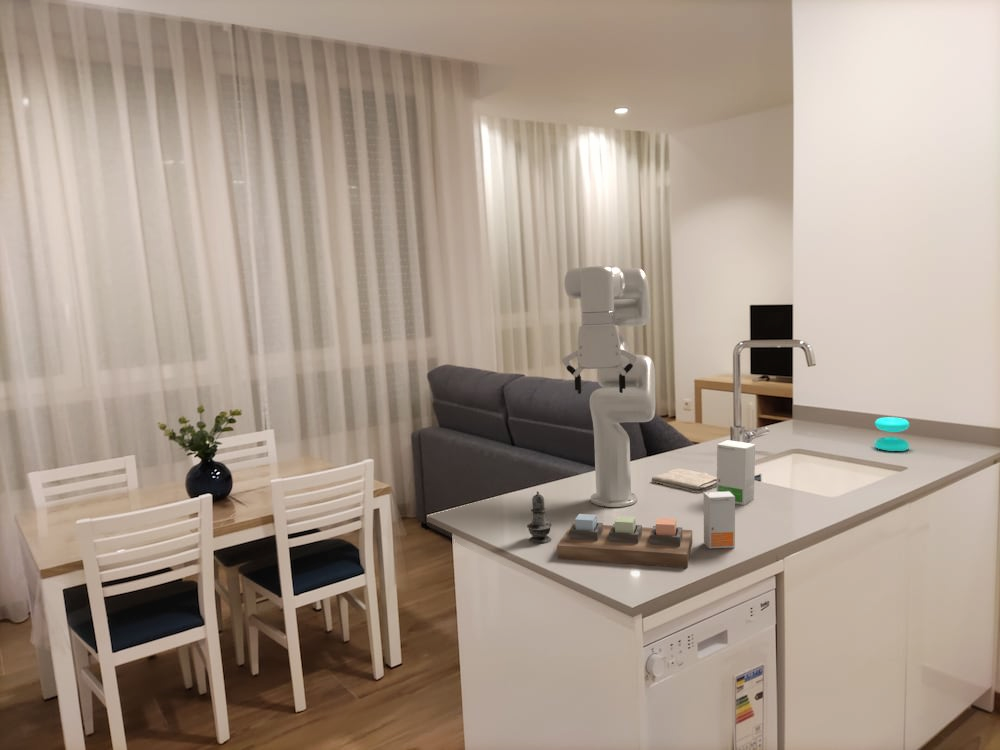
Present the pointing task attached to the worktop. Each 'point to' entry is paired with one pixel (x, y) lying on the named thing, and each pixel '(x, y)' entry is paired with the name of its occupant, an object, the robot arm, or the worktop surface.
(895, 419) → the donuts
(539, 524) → the dark grey figurine
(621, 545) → the console
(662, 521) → the terracotta button
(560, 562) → the worktop surface
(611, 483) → the robot arm
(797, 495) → the worktop surface
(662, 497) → the worktop surface
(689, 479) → the washcloth
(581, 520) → the blue button
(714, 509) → the skincare box
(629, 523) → the green button
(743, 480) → the skincare box
